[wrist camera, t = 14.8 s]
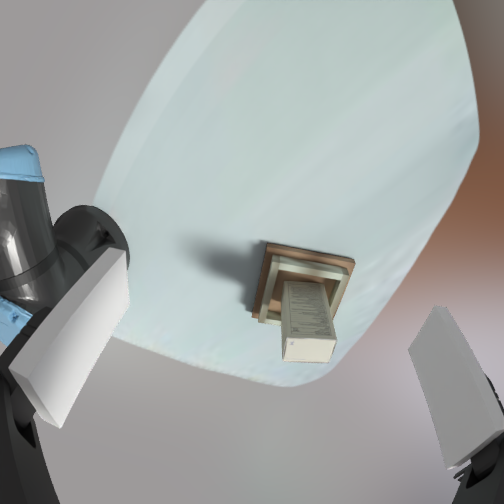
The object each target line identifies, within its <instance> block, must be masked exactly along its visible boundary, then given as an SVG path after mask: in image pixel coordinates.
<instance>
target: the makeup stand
mask: <svg viewBox="0 0 504 504" xmlns="http://www.w3.org/2000/svg"><path fill="white" fill-rule="evenodd" d="M354 266H355V261H354V259H349V258H344V257H339V256H334V255H329V254H323V253H318V252H313V251H308V250H302V249H297V248H292V247H287V246H281V245H276V244H271V243H267V247H266V252H265V257H264V261H263V266H262V270H261V275H260V280H259V284H258V289H257V293H256V298H255V303H254V307H253V312H252V318H257V319H258V322H259V323H265V324H271V325H277V326H281V296H282V290H283V284H284V281H297V282H309V283H320V284H324V287H325V291H326V295H327V299H328V303H329V307H330V312H331V316H332V320H333V318H334V316H335V314H336V311H337V309H338V307H339V304H340V302H341V299H342V297H343V294H344V292H345V289H346V287H347V284H348V282H349V279H350V277H351V274H352V271H353V269H354Z"/></svg>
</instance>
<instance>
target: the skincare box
mask: <svg viewBox="0 0 504 504" xmlns="http://www.w3.org/2000/svg"><path fill="white" fill-rule="evenodd" d="M281 331H282V361H284V362H301V363H329V362H330V359H331V357H332V354H333V352H334V349H335V346H336V344H337V337H336V333H335V329H334V324H333V320H332V316H331V312H330V307H329V303H328V299H327V295H326V291H325V287H324V284H320V283H309V282H297V281H284V284H283V290H282V296H281Z"/></svg>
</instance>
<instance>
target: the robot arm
mask: <svg viewBox="0 0 504 504" xmlns="http://www.w3.org/2000/svg"><path fill="white" fill-rule="evenodd" d="M44 181H45V180H44V177H43V176H42V172H41V167H40V162H39V157H38V153H37V151H36V150H35V148H33V147H32V146H30V145H19V146H12V147H7V148H1V149H0V341H1V342H2V343H4V344H5V345H6V346H7V348H6V349H5V351H4V352H3V353H2V355H1V356H0V504H60V502H59V500H58V497H57V495H56V492H55V490H54V487H53V484H52V481H51V478H50V475H49V472H48V469H47V466H46V463H45V459H44V456H43V452H42V449H41V445H40V441H39V437H38V433H37V429H36V424H35V421H34V419H33V415H34V413H35V412H36V411H37V413H38V414H39V415H40V417H41V418H42V419H43V420H45V421H47V422H48V423H50V424H53V425H54V426H57V427H58V428H61V427H62V425H63V423H64V421H65V419H66V417H67V415H68V413H69V411H70V409H71V407H72V405H73V403H74V401H75V399H76V397H77V396H78V394H79V392H80V390H81V388H82V386H83V384H84V383H85V381H86V379H87V377H88V375H89V373H90V372H91V370H92V368H93V366H94V364H95V363H96V361H97V359H98V357H99V356H100V354H101V352H102V350H103V349H104V347H105V345H106V344H107V342H108V340H109V338H110V337H111V335H112V333H113V332H114V330H115V328H116V327H117V325H118V323H119V322H120V320H121V318H122V317H123V315H124V314H125V312H126V310H127V309H128V307H129V306H130V301H129V290H128V278H127V270H128V267H129V261H130V255H129V248H128V244H127V241H126V239H125V236H124V234H123V233H122V231H121V229H120V228H119V226H118V225H117V224H116V223H115V221H114V220H113V219H112V218H111V217H110V216H108V215H107V214H106V213H104V212H103V211H101V210H99V209H97V208H95V207H92V206H87V205H80V206H75V207H73V208H71V209H69V210H68V211H66V212H65V213H63V214H62V215H61V216H60V217H59V218H58V219H57V221H56V222H55V224H54V226H53V225H52V221H51V217H50V213H49V209H48V204H47V199H46V193H45V187H44ZM408 351H409V354H410V356H411V359H412V362H413V364H414V367H415V369H416V372H417V375H418V378H419V380H420V383H421V386H422V389H423V392H424V395H425V398H426V401H427V404H428V407H429V410H430V413H431V417H432V420H433V423H434V426H435V430H436V433H437V437H438V440H439V444H440V447H441V451H442V455H443V459H444V463H445V467H446V470H447V469H451V468H455V467H458V466H461V465H462V464H463V463H465V462H466V461H468V460H469V459H471V464H469V465H468V466H467V467H465V468H464V469H462V470H461V471H459V472H458V473H457V474H455V476H454V479H456V478H457V477H459V476H460V475H462V474H463V473H464V475H463V476H462V477H460V478H459V479H458V481H460V482H461V483H460V486H459V488H458V491H457V493H456V495H455V498H454V500H453V502H452V504H504V409H503V406H502V404H501V402H500V401H499V397H498V395H497V393H495V389H494V387H493V384H492V382H491V381H490V379H489V378H488V377H487V376H486V375H485V374H484V372H483V370H482V368H481V366H480V364H479V363H478V361H477V359H476V357H475V355H474V353H473V351H472V349H471V348H470V346H469V344H468V342H467V340H466V339H465V337H464V335H463V333H462V332H461V330H460V329H459V327H458V325H457V323H456V322H455V320H454V318H453V317H452V315H451V313H450V312H449V310H448V309H447V307H441V306H434V308H433V310H432V311H431V313H430V315H429V317H428V318H427V320H426V322H425V323H424V325H423V327H422V328H421V330H420V332H419V333H418V335H417V336H416V338H415V340H414V341H413V343H412V344H411V346H410V348H409V349H408Z"/></svg>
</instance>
